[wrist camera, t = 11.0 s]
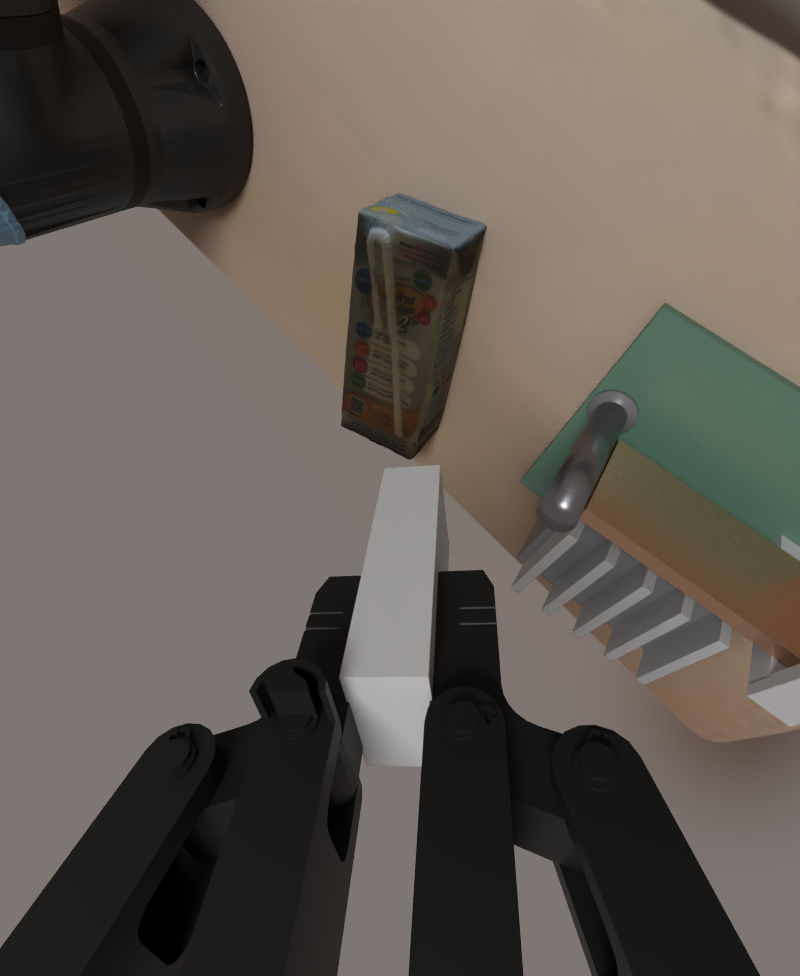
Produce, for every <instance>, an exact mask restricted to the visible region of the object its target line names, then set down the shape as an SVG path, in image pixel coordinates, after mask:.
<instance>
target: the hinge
mask: <svg viewBox="0 0 800 976" xmlns="http://www.w3.org/2000/svg"><path fill="white" fill-rule="evenodd" d="M627 418H628V417H627V412H626V410H625V409H624V408H623V407H622V406H621V405H619V404H617V403H615V402H604V403H601V404H599V405H598V406H597V407H596V408H595V410H594V412H593V413H592V415H591V417H590V418H589V420H588V422H587V424H586V425H585V427H584V429H583V431H582V432H581V434H580V436H579V437H578V439H577V441H576V443H575V444H574V446H573V448H572V450H571V451H570V453H569V455H568V456H567V458H566V460H565V462H564V463H563V465H562V467H561V469H560V470H559V472H558V474H557V475H556V477H555V479H554V481H553V482H552V484H551V486H550V487H549V489H548V491H547V493H546V494H545V496H544V498H543V500H542V501H541V503H540V505H539V507H538V509H537V515H538V518H539V520H540V521H541V523H542V524H543V525H544V526H546V527H547V528H549V529H551V530H553V531H556V532H569V531H571V530H573V529H574V528H575V527H576V525H577V523H578V521H579V519H580V520H581V521H583V522H584V523H585V524H587V525H588V526H590V527H591V528H592V529H594V530H595V531H597V532H598V533H600V534H601V535H602V536H604V537H605V538H607V539H608V540H609V541H611V542H612V543H614V544H615V545H617V546H618V547H619V548H621V549H622V550H624V551H625V552H626V553H628V554H629V555H631V556H632V557H634V558H635V559H636V560H638V561H639V562H641V563H642V564H643V565H645V566H646V567H648V568H649V569H651V570H652V571H653V572H655V573H656V574H658V575H659V576H660V577H662V578H663V579H665V580H666V581H668V582H669V583H670V584H672V585H673V586H675V587H676V588H677V589H679V590H680V591H682V592H683V593H685V594H686V595H687V596H689V597H690V598H692V599H693V600H694V601H696V602H697V603H699V604H700V605H702V606H703V607H704V608H706V609H707V610H709V611H710V612H711V613H713V614H714V615H716V616H717V617H719V618H720V619H721V620H723V621H724V622H726V623H727V624H728V625H730V626H731V627H733V628H734V629H736V630H737V631H738V632H740V633H741V634H743V635H744V636H745V637H747V638H748V639H750V640H751V641H753V642H754V643H755V644H757V645H758V646H760V647H761V648H762V649H764V650H765V651H767V652H768V653H770V654H771V655H772V656H774V657H775V658H777V659H778V660H779V661H781V662H782V663H784V664H785V665H787V666H788V667H792V666H795V665H797V664H800V561H799V560H797V559H796V558H794V557H793V556H791V555H790V554H788V553H787V552H785V551H784V550H782V549H781V548H780V547H778V546H777V545H775V544H774V543H772V542H771V541H769V540H768V539H766V538H765V537H763V536H762V535H760V534H759V533H757V532H756V531H754V530H753V529H751V528H750V527H749V526H747V525H746V524H744V523H743V522H741V521H740V520H738V519H737V518H735V517H734V516H732V515H731V514H729V513H728V512H726V511H725V510H723V509H722V508H721V507H719V506H718V505H716V504H715V503H713V502H712V501H710V500H709V499H707V498H706V497H704V496H703V495H701V494H700V493H698V492H697V491H695V490H694V489H693V488H691V487H690V486H688V485H687V484H685V483H684V482H682V481H681V480H679V479H678V478H676V477H675V476H673V475H672V474H670V473H669V472H667V471H666V470H665V469H663V468H662V467H660V466H659V465H657V464H656V463H654V462H653V461H651V460H650V459H648V458H647V457H645V456H644V455H642V454H641V453H639V452H638V451H637V450H635V449H634V448H632V447H631V446H629V445H628V444H626V443H625V442H623V441H622V440H620V439H619V437H620V435H621V432H622V430H623V428H624V426H625V424H626V422H627ZM618 439H619V440H618Z"/></svg>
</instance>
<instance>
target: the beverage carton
mask: <svg viewBox="0 0 800 976" xmlns="http://www.w3.org/2000/svg"><path fill="white" fill-rule="evenodd" d="M485 231H486V225H485V224H484V223H482V222H478V221H474V220H471V219H469V218H466V217H462V216H459V215H456V214H453V213H451V212H448V211H446V210H443V209H440V208H438V207H435V206H432V205H430V204H427V203H425V202H422V201H419V200H417V199H414V198H412V197H409V196H406V195H403V194H395V195H393V196H391V197H386V198H385V199H383V200H381V201H380V202H378V203H376V204H375V205H373V206H369V207H366V208H363V209H361V210H360V211H359V213H358V226H357V236H356V243H355V258H354V265H353V275H352V289H351V299H350V310H349V325H348V334H347V346H346V361H345V373H344V387H343V402H342V421H341V425H342V426H343V427H344V428H347V429H349V430H351V431H354V432H356V433H358V434H360V435H362V436H364V437H366V438H368V439H369V440H370V441H372V442H375V443H377V444H378V445H381V446H384V447H386V448H388V449H390V450H392V451H393V452H395V453H397V454H399V455H401V456H403V457H405V458H407V459H412V458H414V456H415V455H416V454H417V453H418V452H419V451H420V450H421V449H422V448H423V446H424V445H425V444H426V443H427V442H428V440H429V439H430V438H431V436H432V435H433V434H434V433H435V432H436V430H437V429H438V427H439V423H440V420H441V417H442V413H443V409H444V405H445V401H446V397H447V393H448V389H449V385H450V381H451V377H452V372H453V368H454V365H455V360H456V357H457V352H458V348H459V344H460V339H461V335H462V331H463V327H464V323H465V319H466V315H467V310H468V306H469V302H470V297H471V293H472V289H473V285H474V280H475V276H476V270H477V265H478V260H479V255H480V251H481V247H482V243H483V238H484V234H485Z"/></svg>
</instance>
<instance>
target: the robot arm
mask: <svg viewBox="0 0 800 976" xmlns="http://www.w3.org/2000/svg"><path fill="white" fill-rule="evenodd" d="M251 153H252V130H251V120H250V113H249V108H248V103H247V98H246V94H245V90H244V87H243V84H242V80H241V77H240V74H239V72H238V69H237V66H236V64H235V62H234V59H233V57H232V55H231V53H230V51H229V49H228V47H227V45H226V43H225V41H224V39H223V38H222V36H221V34H220V32H219V31H218V29H217V28H216V26H215V25H214V23H213V22H212V21H211V19H210V18H209V17H208V15H207V14H206V13H205V12H204V11H203V9H202V8H201V7H200V6H199V5H198V4H197V3H196V2H195V1H194V0H88V1H86V2H85V3H83V4H81V5H79V6H78V7H76V8H74V9H72V10H71V11H69V12H67V13H66V14H62V15H60V12H59V7H58V1H57V0H0V246H5V245H10V244H15V245H18V244H23V243H24V242H25V240H27V239H31V238H34V237H37V236H41V235H44V234H47V233H51V232H54V231H57V230H60V229H64V228H67V227H70V226H74V225H77V224H80V223H84V222H87V221H90V220H93V219H96V218H100V217H103V216H107V215H110V214H113V213H117V212H119V211H123V210H126V209H130V208H134V207H137V206H140V207H148V208H156V209H165V210H173V211H182V212H191V213H196V212H204V211H208V210H211V209H214V208H217V207H220V206H223V205H225V204H227V203H229V202H230V201H232V200H233V199H234V198H235V197H236V196H237V195H238V193H239V192H240V190H241V189H242V187H243V185H244V183H245V181H246V178H247V175H248V171H249V167H250V162H251ZM448 556H449V541H448V532H447V522H446V513H445V504H444V495H443V486H442V476H441V467H440V465H432V466H417V467H403V468H388V469H385V470H384V475H383V479H382V484H381V488H380V492H379V497H378V502H377V506H376V511H375V515H374V520H373V524H372V529H371V534H370V538H369V543H368V547H367V552H366V557H365V561H364V566H363V570H362V575H361V576H340V577H329V578H328V580H327V581H326V582H325V583H324V584H323V586H322V587H321V588H320V589H319V590H318V592H317V593H316V595H315V598H314V602H313V605H312V608H311V615H310V616H309V618H308V621H307V624H306V631H304V634H303V637H302V641H301V644H300V647H299V651H298V654H297V657H296V658H295V659H289V660H283V661H281V662H279V663H277V664H275V665H273V666H271V667H269V668H267V669H266V670H265V671H264V672H263V673H262V674H261V675H260V676H259V677H258V678H257V679H256V680H255V682H254V684H253V685H252V687H251V689H250V691H249V692H250V694H251V696H252V698H253V700H254V703H255V705H256V707H257V709H258V711H259V713H260V715H261V717H262V718H260V719H259V720H257V721H255V722H252V723H250V724H248V725H245V726H242V727H239V728H235V729H232V730H229V731H226V732H222V733H220V734H216V735H213V734H212V732H211V730H210V729H208V728H206V727H204V726H203V725H201V724H188V723H187V724H184V725H181V726H177V727H174V728H172V729H170V730H168V731H167V732H165V733H164V734H162V735H161V736H159V737H158V738H157V739H156V740H155V741H154V742H153V743H152V744H151V745H150V746H149V747H148V748H147V749H146V751H145V752H144V753H143V755H142V756H141V757H140V759H139V760H138V761H137V763H136V764H135V766H134V767H133V768H132V770H131V771H130V772H129V774H128V775H127V776H126V778H125V779H124V781H123V782H122V783H121V785H120V786H119V787H118V789H117V790H116V792H115V793H114V794H113V796H112V797H111V798H110V800H109V801H108V802H107V804H106V805H105V806H104V808H103V809H102V810H101V812H100V813H99V815H98V816H97V817H96V819H95V820H94V821H93V823H92V824H91V825H90V827H89V828H88V830H87V831H86V832H85V834H84V835H83V837H82V838H81V839H80V841H79V842H78V843H77V845H76V846H75V847H74V849H73V850H72V851H71V853H70V854H69V856H68V857H67V858H66V860H65V861H64V862H63V864H62V865H61V866H60V868H59V869H58V870H57V872H56V873H55V874H54V876H53V877H52V879H51V880H50V881H49V883H48V884H47V886H46V887H45V888H44V889H43V891H42V892H41V894H40V895H39V896H38V898H37V899H36V901H35V902H34V903H33V905H32V906H31V907H30V909H29V910H28V911H27V913H26V914H25V915H24V917H23V918H22V920H21V921H20V922H19V924H18V925H17V926H16V928H15V929H14V930H13V932H12V933H11V935H10V936H9V937H8V938H7V940H6V941H5V943H4V944H3V945H2V947H1V948H0V976H337V972H338V965H339V958H340V950H341V944H342V937H343V930H344V922H345V915H346V909H347V901H348V895H349V888H350V880H351V873H352V866H353V859H354V852H355V845H356V838H357V831H358V823H359V817H360V810H361V803H362V784H361V781H360V779H359V771H360V764H361V758H362V752H363V755H364V758H365V762H366V765H373V766H374V765H375V766H422V768H421V784H420V800H419V816H418V832H417V850H416V865H415V881H414V897H413V913H412V930H411V947H410V962H409V963H410V964H409V976H523V965H522V952H521V938H520V926H519V925H520V924H519V911H518V897H517V885H516V871H515V857H514V845H516V846H519V847H521V848H523V849H526V850H528V851H531V852H533V853H535V854H538V855H540V856H542V857H544V858H547V859H549V860H551V861H553V863H554V866H555V869H556V872H557V875H558V878H559V881H560V884H561V886H562V889H563V892H564V895H565V898H566V901H567V904H568V907H569V910H570V912H571V916H572V918H573V922H574V924H575V927H576V930H577V933H578V936H579V939H580V942H581V945H582V948H583V951H584V954H585V957H586V960H587V962H588V965H589V968H590V971H591V974H592V976H760V974H759V973H758V971H757V969H756V967H755V965H754V963H753V962H752V960H751V958H750V956H749V954H748V953H747V951H746V949H745V947H744V945H743V943H742V942H741V940H740V938H739V936H738V934H737V932H736V931H735V929H734V927H733V925H732V923H731V921H730V920H729V918H728V916H727V914H726V912H725V911H724V909H723V907H722V905H721V903H720V902H719V900H718V898H717V896H716V894H715V892H714V890H713V889H712V887H711V885H710V883H709V881H708V880H707V878H706V876H705V874H704V872H703V870H702V869H701V867H700V865H699V863H698V861H697V859H696V857H695V856H694V854H693V852H692V850H691V848H690V846H689V845H688V843H687V841H686V839H685V837H684V835H683V834H682V832H681V830H680V828H679V826H678V824H677V823H676V821H675V819H674V817H673V815H672V813H671V812H670V810H669V808H668V806H667V804H666V803H665V801H664V799H663V797H662V795H661V793H660V792H659V790H658V788H657V786H656V784H655V782H654V781H653V779H652V777H651V775H650V773H649V771H648V770H647V768H646V766H645V764H644V763H643V760H642V759H641V757H640V755H639V754H638V753H637V752H636V750H635V749H634V748H633V746H632V745H631V744H630V743H629V741H627V740H626V739H624V738H623V737H621V736H620V735H619V734H617V733H616V732H614V731H613V730H610V729H606V728H603V727H600V726H597V725H582V726H577V727H575V728H572V729H570V730H568V731H565V732H564V733H563V734H561V733H558V732H555V731H552V730H549V729H546V728H542V727H540V726H537V725H535V724H533V723H530V722H528V721H526V720H525V719H523V718H522V717H521V716H519V715H518V714H517V713H516V712H515V711H514V710H513V709H512V708H511V707H510V705H509V704H508V702H507V701H506V699H505V697H504V695H503V690H502V686H501V675H500V661H499V649H498V637H497V622H496V609H495V596H494V586H493V584H492V583H491V581H490V580H489V578H488V577H487V575H486V574H485V572H484V571H483V570H472V571H471V570H469V571H448V558H449V557H448Z"/></svg>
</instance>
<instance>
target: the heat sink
mask: <svg viewBox="0 0 800 976" xmlns="http://www.w3.org/2000/svg"><path fill="white" fill-rule="evenodd" d="M604 402H615V403H617V404H619V405H621V406H622V407H623V408H624V409H625V410H626V412H627V417H628V418H627V422H626V424H625V426H624V428H623V430H622V432H621V435H620V437H619V439H620V440H622V441H623V442H625V443H626V444H628V445H629V446H631V447H632V448H634V449H635V450H637V451H638V452H639V453H641V454H642V455H644V456H645V457H647V458H648V459H650V460H651V461H653V462H654V463H656V464H657V465H659V466H660V467H662V468H663V469H665V470H666V471H667V472H669V473H670V474H672V475H673V476H675V477H676V478H678V479H679V480H681V481H682V482H684V483H685V484H687V485H688V486H690V487H691V488H693V489H694V490H695V491H697V492H698V493H700V494H701V495H703V496H704V497H706V498H707V499H709V500H710V501H712V502H713V503H715V504H716V505H718V506H719V507H721V508H722V509H723V510H725V511H726V512H728V513H729V514H731V515H732V516H734V517H735V518H737V519H738V520H740V521H741V522H743V523H744V524H746V525H747V526H749V527H750V528H751V529H753V530H754V531H756V532H757V533H759V534H760V535H762V536H763V537H765V538H766V539H768V540H769V541H771V542H772V543H774V544H775V545H777V546H778V547H780V548H781V549H782V550H784V551H785V552H787V553H788V554H790V555H791V556H793V557H794V558H796V559H797V560H799V561H800V387H798V386H797V385H795V384H794V383H792V382H790V381H789V380H787V379H786V378H784V377H783V376H781V375H779V374H778V373H776V372H775V371H773V370H771V369H770V368H768V367H767V366H765V365H763V364H762V363H760V362H759V361H757V360H755V359H754V358H752V357H751V356H749V355H747V354H746V353H744V352H743V351H741V350H740V349H738V348H736V347H735V346H733V345H732V344H730V343H728V342H727V341H725V340H724V339H722V338H720V337H719V336H717V335H716V334H714V333H712V332H711V331H709V330H708V329H706V328H704V327H703V326H701V325H700V324H698V323H697V322H695V321H693V320H692V319H690V318H689V317H687V316H685V315H684V314H682V313H681V312H679V311H677V310H676V309H674V308H673V307H671V306H669V305H668V304H666V303H665V304H664V305H663V306H662V308H661V309H660V310H659V311H658V312H657V314H656V315H655V316H654V317H653V319H652V320H651V321H650V322H649V324H648V325H647V326H646V327H645V328H644V330H643V331H642V332H641V333H640V335H639V336H638V337H637V338H636V339H635V341H634V342H633V343H632V344H631V346H630V347H629V348H628V349H627V350H626V352H625V353H624V354H623V355H622V357H621V358H620V359H619V360H618V361H617V363H616V364H615V365H614V366H613V368H612V369H611V370H610V371H609V372H608V374H607V375H606V376H605V377H604V379H603V380H602V381H601V382H600V383H599V385H598V386H597V387H596V388H595V390H594V391H593V392H592V393H591V394H590V396H589V397H588V398H587V399H586V401H585V402H584V403H583V404H582V405H581V407H580V408H579V409H578V410H577V412H576V413H575V414H574V415H573V416H572V418H571V419H570V420H569V421H568V423H567V424H566V425H565V426H564V427H563V429H562V430H561V431H560V432H559V434H558V435H557V436H556V437H555V439H554V440H553V441H552V442H551V443H550V445H549V446H548V447H547V448H546V450H545V451H544V452H543V453H542V454H541V456H540V457H539V458H538V459H537V461H536V462H535V463H534V464H533V465H532V467H531V468H530V469H529V470H528V472H527V473H526V474H525V475H524V476H523V478H522V479H521V481H520V482H521V483H522V484H524V485H525V486H527V487H528V488H529V489H531V490H532V491H534V492H535V493H536V494H538V495H539V496H541V497H542V498H544V496H545V494H546V493H547V491H548V489H549V487H550V486H551V484H552V482H553V481H554V479H555V477H556V475H557V474H558V472H559V470H560V469H561V467H562V465H563V463H564V462H565V460H566V458H567V456H568V455H569V453H570V451H571V450H572V448H573V446H574V444H575V443H576V441H577V439H578V437H579V436H580V434H581V432H582V431H583V429H584V427H585V425H586V424H587V422H588V420H589V418H590V417H591V415H592V413H593V412H594V410H595V408H596V407H597V406H598V405H599V404H601V403H604ZM619 439H618V440H619ZM517 558H518V559H520V560H521V561H522V562H524V564H523V566H522V568H521V570H520V572H519V573H518V576H517V577H516V579H515V581H514V583H513V584H512V586H511V588H512V589H514V590H515V591H516V592H518V593H519V592H520V591H521V590H523V589H524V588H525V587H526V586H527V585H528V584H529V583H531V582H532V581H533V580H534V579H535V578H536V577H537V576H538V575H542V576H543V577H545V578H546V579H547V580H549V581H550V582H551V583H553V586H552V588H551V590H550V592H549V595H548V597H547V599H546V601H545V603H544V605H543V607H542V609H541V610H542V611H544V612H545V613H546V614H548V615H550V614H552V613H553V612H554V611H556V610H557V609H558V608H560V607H561V606H562V605H564V604H565V603H567V602H568V601H569V600H571V599H572V598H574V599H575V600H576V601H578V602H579V603H581V604H582V605H583V607H582V610H581V612H580V615H579V617H578V619H577V622H576V624H575V627H574V629H573V633H574V634H575V635H577V636H578V637H579V638H581V637H583V636H584V635H586V634H588V633H589V632H591V631H592V630H594V629H596V628H597V627H599V626H600V625H602V624H604V623H605V622H607V623H608V624H610V625H611V626H612V627H613V630H612V633H611V636H610V639H609V641H608V644H607V647H606V650H605V653H604V656H605V657H607V658H608V659H610V660H611V661H613V660H615V659H617V658H619V657H621V656H623V655H625V654H627V653H629V652H631V651H632V650H634V649H636V648H638V647H641V648H643V649H644V651H643V655H642V658H641V662H640V665H639V669H638V672H637V676H636V679H637V680H638V681H639V682H641V683H642V684H643V685H645V684H647V683H649V682H652V681H654V680H656V679H658V678H661V677H663V676H665V675H668V674H670V673H672V672H675V671H677V670H679V669H681V668H684V667H686V666H688V665H691V664H693V663H695V662H697V661H700V660H702V659H704V658H707V657H709V656H711V655H713V654H716V653H718V652H720V651H723V650H725V649H727V648H729V646H730V640H731V633H732V627H731V626H730V625H728V624H727V623H726V622H724V621H723V620H721V619H720V618H719V617H717V616H716V615H714V614H713V613H711V612H710V611H709V610H707V609H706V608H704V607H703V606H702V605H700V604H699V603H697V602H696V601H694V600H693V599H692V598H690V597H689V596H687V595H686V594H685V593H683V592H682V591H680V590H679V589H677V588H676V587H675V586H673V585H672V584H670V583H669V582H668V581H666V580H665V579H663V578H662V577H660V576H659V575H658V574H656V573H655V572H653V571H652V570H651V569H649V568H648V567H646V566H645V565H643V564H642V563H641V562H639V561H638V560H636V559H635V558H634V557H632V556H631V555H629V554H628V553H626V552H625V551H624V550H622V549H621V548H619V547H618V546H617V545H615V544H614V543H612V542H611V541H609V540H608V539H607V538H605V537H604V536H602V535H601V534H600V533H598V532H597V531H595V530H594V529H592V528H591V527H590V526H588V525H587V524H585V523H584V522H583V521H581V520H580V519H579V521H578V523H577V525H576V527H575V528H574V529H573V530H571V531H569V532H556V531H553V530H551V529H549V528H547V527H546V526H544V525H543V524H542V523H541V521H540V520H539V519H538V521H537V523H536V525H535V527H534V528H533V530H532V532H531V534H530V535H529V537H528V539H527V541H526V542H525V544H524V546H523V548H522V550H521V551H520V553H519V555H518V557H517ZM747 697H749V698H750V699H752V700H753V701H754V702H756V703H757V704H759V705H760V706H761V707H763V708H764V709H766V710H767V711H768V712H770V713H771V714H773V715H774V716H775V717H777V718H778V719H780V720H781V721H782V722H784V723H785V724H787V725H788V726H789V727H792V726H796V725H799V724H800V664H797V665H795V666H792V667H788V666H787V665H785V664H784V663H782V662H781V661H779V660H778V659H777V658H775V657H774V656H772V655H771V654H770V653H768V652H767V651H765V650H764V649H762V648H761V647H760V646H758V645H757V644H755V643H754V642H753V648H752V657H751V665H750V673H749V682H748V690H747Z"/></svg>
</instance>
